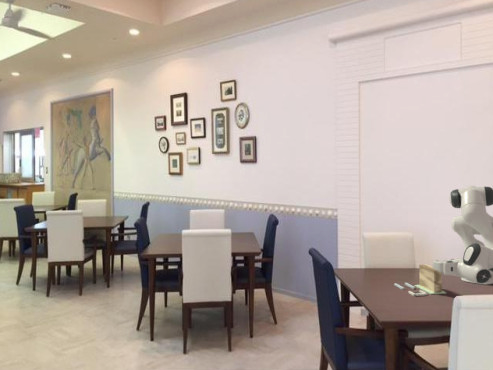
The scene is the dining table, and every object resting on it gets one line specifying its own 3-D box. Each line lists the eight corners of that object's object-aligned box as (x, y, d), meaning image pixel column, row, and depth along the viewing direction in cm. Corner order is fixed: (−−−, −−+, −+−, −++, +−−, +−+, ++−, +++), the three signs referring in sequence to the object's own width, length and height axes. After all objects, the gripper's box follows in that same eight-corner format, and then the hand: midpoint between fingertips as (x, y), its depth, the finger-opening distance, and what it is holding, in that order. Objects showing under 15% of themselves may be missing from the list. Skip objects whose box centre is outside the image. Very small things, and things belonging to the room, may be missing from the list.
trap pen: (421, 292, 228) (421, 290, 228) (427, 295, 222) (427, 293, 222) (408, 292, 227) (408, 291, 227) (414, 296, 221) (414, 294, 221)
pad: (428, 285, 241) (428, 284, 241) (446, 293, 225) (446, 292, 225) (414, 286, 240) (414, 285, 240) (430, 294, 224) (430, 293, 224)
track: (406, 284, 243) (406, 282, 243) (415, 288, 234) (415, 287, 234) (394, 285, 242) (394, 283, 242) (402, 289, 233) (402, 287, 233)
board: (426, 284, 239) (426, 264, 239) (441, 292, 226) (441, 270, 225) (419, 285, 239) (419, 264, 238) (434, 292, 225) (434, 270, 224)
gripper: (480, 259, 208) (461, 253, 221) (442, 262, 205) (426, 256, 218) (479, 272, 208) (461, 265, 222) (442, 275, 205) (426, 268, 219)
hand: (443, 260), depth 220 cm, fingers open, 8 cm apart
